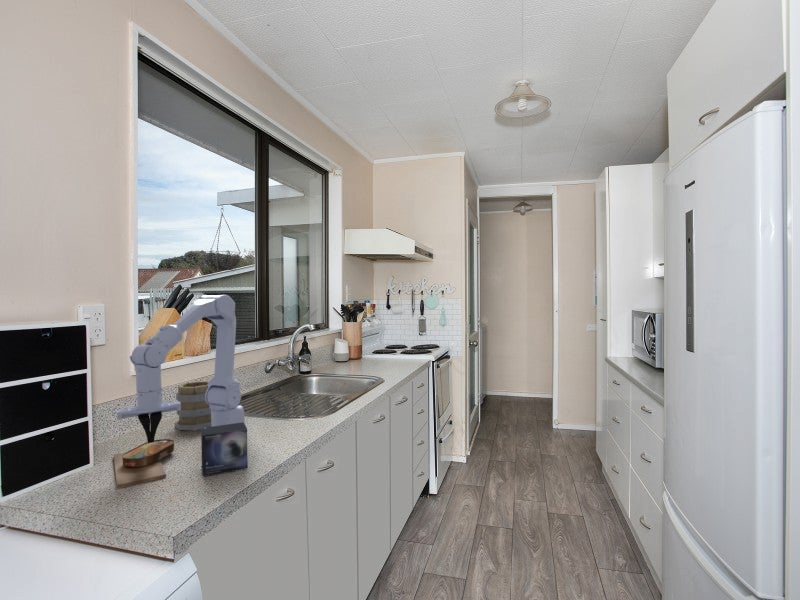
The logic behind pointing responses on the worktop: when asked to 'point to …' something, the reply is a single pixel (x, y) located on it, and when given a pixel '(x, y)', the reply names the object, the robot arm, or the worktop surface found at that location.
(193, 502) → the worktop surface
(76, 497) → the worktop surface
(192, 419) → the tankard
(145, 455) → the tin
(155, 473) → the chopping board
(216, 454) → the small box
